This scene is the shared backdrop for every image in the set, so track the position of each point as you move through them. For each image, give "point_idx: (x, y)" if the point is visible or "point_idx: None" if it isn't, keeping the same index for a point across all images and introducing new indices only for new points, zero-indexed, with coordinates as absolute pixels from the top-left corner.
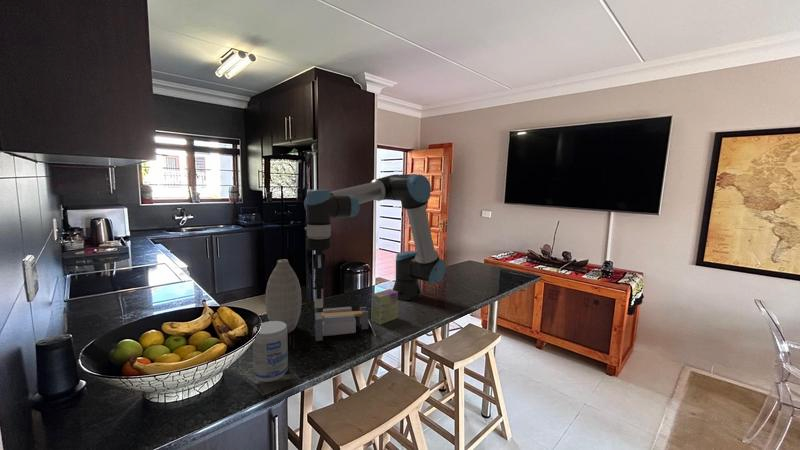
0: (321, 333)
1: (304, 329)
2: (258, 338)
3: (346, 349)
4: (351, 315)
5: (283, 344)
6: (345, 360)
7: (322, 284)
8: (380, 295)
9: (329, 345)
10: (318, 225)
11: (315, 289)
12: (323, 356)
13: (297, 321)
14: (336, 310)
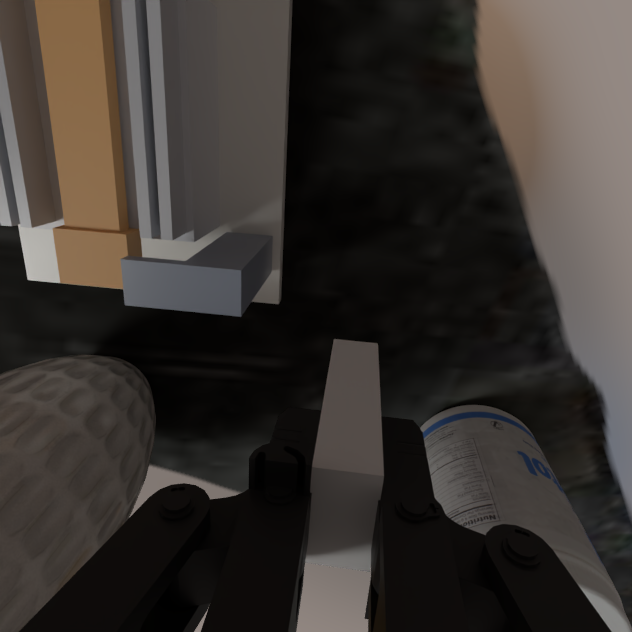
0: (263, 252)
1: (93, 302)
2: None
3: (381, 111)
4: (153, 8)
5: (574, 523)
6: (499, 140)
7: (596, 626)
8: None
9: (305, 200)
10: None
11: (369, 557)
12: (411, 246)
13: (100, 365)
14: (19, 122)
